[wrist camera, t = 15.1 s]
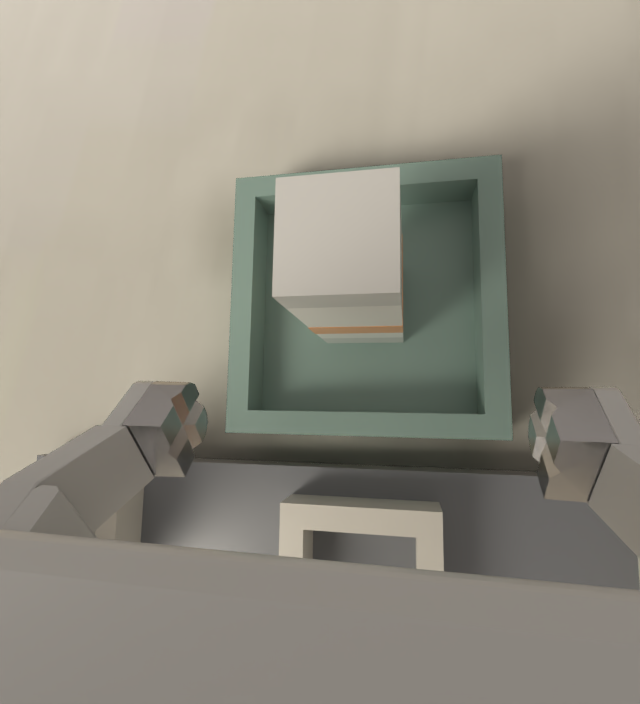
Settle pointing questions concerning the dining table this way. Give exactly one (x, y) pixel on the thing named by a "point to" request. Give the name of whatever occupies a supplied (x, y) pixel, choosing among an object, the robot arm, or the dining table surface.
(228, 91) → the dining table surface
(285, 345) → the tray
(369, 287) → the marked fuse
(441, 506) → the board
